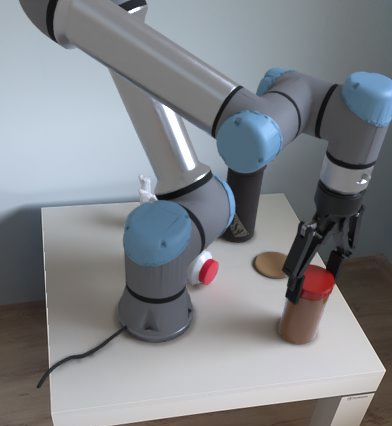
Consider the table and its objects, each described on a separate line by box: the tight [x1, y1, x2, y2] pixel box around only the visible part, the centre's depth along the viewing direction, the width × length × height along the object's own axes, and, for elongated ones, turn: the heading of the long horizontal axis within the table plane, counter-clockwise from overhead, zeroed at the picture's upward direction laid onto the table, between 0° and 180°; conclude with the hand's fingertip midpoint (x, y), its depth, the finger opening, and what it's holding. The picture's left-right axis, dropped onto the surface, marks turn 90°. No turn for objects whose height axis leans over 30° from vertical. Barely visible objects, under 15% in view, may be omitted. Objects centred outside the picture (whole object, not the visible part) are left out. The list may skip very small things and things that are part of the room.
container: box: [220, 164, 268, 243], centre depth 120 cm, size 9×9×20 cm
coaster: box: [254, 251, 289, 280], centre depth 120 cm, size 9×9×1 cm
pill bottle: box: [186, 249, 220, 286], centre depth 113 cm, size 8×8×11 cm
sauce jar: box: [278, 295, 330, 345], centre depth 102 cm, size 8×8×14 cm
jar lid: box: [300, 263, 335, 300], centre depth 97 cm, size 8×8×2 cm
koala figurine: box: [137, 174, 157, 206], centre depth 122 cm, size 8×7×12 cm
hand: (310, 290), depth 99 cm, fingers open, 9 cm apart
